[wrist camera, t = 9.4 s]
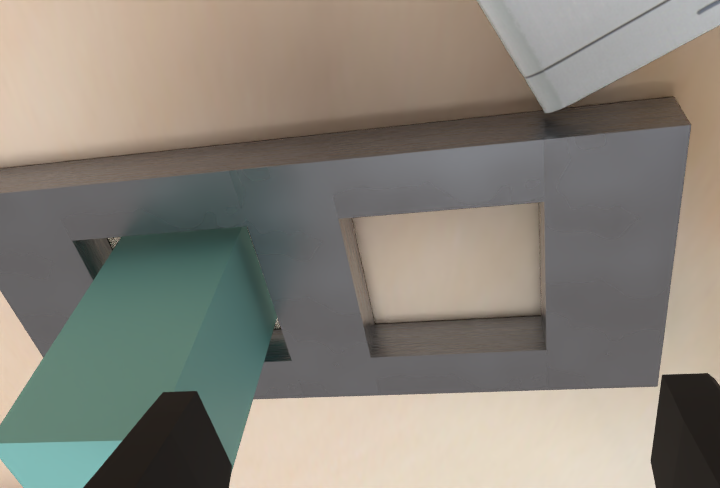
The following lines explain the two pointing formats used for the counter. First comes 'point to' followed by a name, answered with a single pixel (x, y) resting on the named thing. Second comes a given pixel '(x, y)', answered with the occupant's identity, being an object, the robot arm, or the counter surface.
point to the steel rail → (385, 197)
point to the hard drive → (592, 39)
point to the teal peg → (144, 353)
